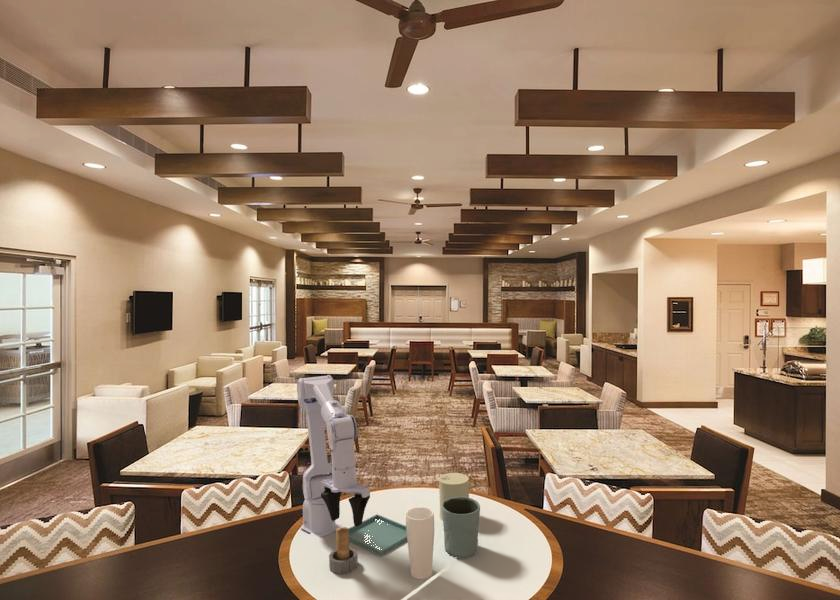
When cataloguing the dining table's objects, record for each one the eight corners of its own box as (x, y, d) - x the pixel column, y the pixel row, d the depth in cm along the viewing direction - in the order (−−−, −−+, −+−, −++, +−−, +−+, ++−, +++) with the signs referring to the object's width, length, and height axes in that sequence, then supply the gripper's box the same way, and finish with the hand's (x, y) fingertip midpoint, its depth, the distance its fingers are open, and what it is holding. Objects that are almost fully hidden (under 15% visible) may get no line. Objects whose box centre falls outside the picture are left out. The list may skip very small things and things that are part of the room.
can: (441, 508, 152) (439, 470, 152) (470, 509, 151) (469, 471, 151) (438, 522, 143) (436, 482, 143) (469, 524, 142) (468, 483, 142)
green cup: (453, 536, 135) (452, 493, 135) (487, 545, 130) (486, 501, 130) (435, 554, 126) (434, 508, 126) (471, 564, 121) (470, 517, 121)
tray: (340, 538, 136) (340, 532, 136) (377, 519, 146) (377, 514, 146) (380, 557, 125) (380, 551, 125) (417, 536, 136) (416, 530, 136)
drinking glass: (433, 584, 114) (431, 520, 113) (404, 581, 115) (402, 518, 115) (437, 568, 120) (436, 507, 120) (410, 565, 122) (409, 506, 121)
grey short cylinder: (324, 569, 121) (323, 555, 121) (345, 557, 126) (344, 544, 126) (341, 579, 116) (341, 565, 116) (363, 566, 122) (362, 553, 121)
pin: (334, 566, 121) (333, 530, 121) (344, 561, 123) (343, 525, 123) (342, 570, 119) (341, 534, 119) (352, 565, 121) (351, 529, 121)
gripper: (311, 467, 122) (313, 522, 121) (354, 474, 114) (358, 534, 113) (331, 459, 127) (333, 512, 127) (374, 466, 119) (377, 522, 119)
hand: (346, 522), depth 120 cm, fingers open, 7 cm apart
